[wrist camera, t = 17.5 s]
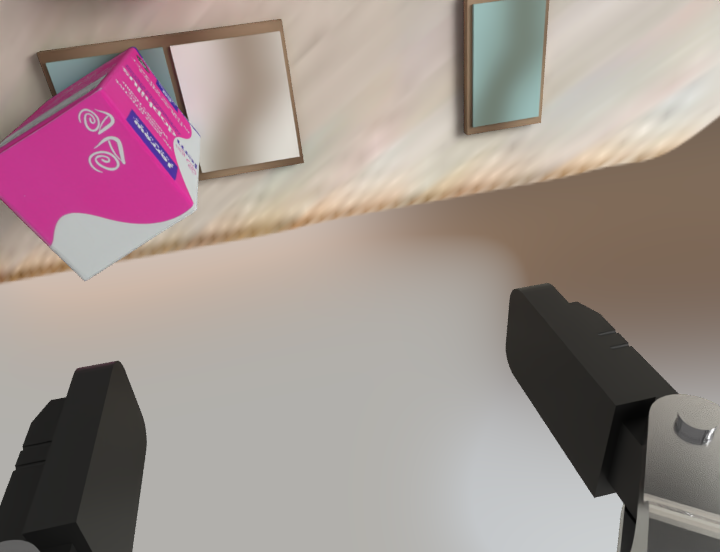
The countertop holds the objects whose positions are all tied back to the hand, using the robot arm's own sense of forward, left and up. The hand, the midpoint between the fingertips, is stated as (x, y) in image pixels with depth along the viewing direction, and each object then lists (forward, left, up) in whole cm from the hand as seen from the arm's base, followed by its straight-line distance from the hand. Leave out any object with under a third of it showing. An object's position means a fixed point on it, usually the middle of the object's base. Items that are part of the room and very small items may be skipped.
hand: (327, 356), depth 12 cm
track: (-2, +3, -25) cm, 25 cm away
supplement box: (+4, -6, -24) cm, 25 cm away
